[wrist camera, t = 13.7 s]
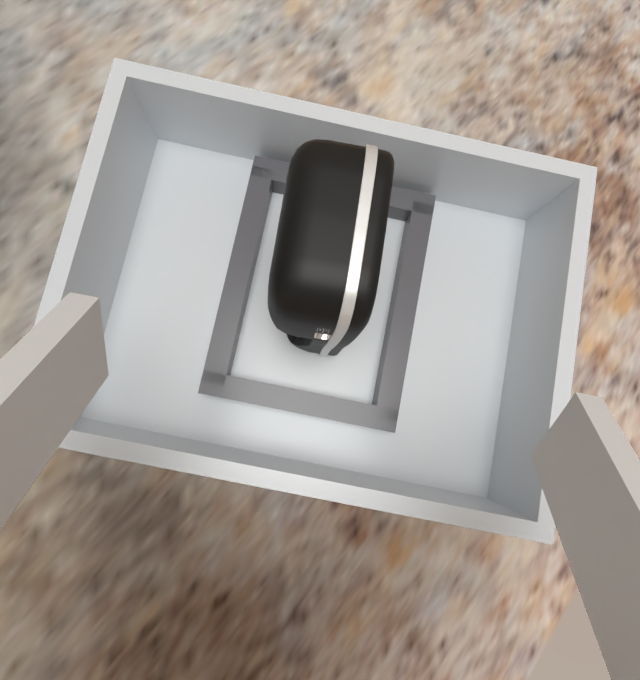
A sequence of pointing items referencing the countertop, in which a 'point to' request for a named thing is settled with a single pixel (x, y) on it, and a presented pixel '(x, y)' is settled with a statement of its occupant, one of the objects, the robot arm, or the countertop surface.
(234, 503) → the countertop surface
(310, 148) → the battery charger
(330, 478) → the bin
